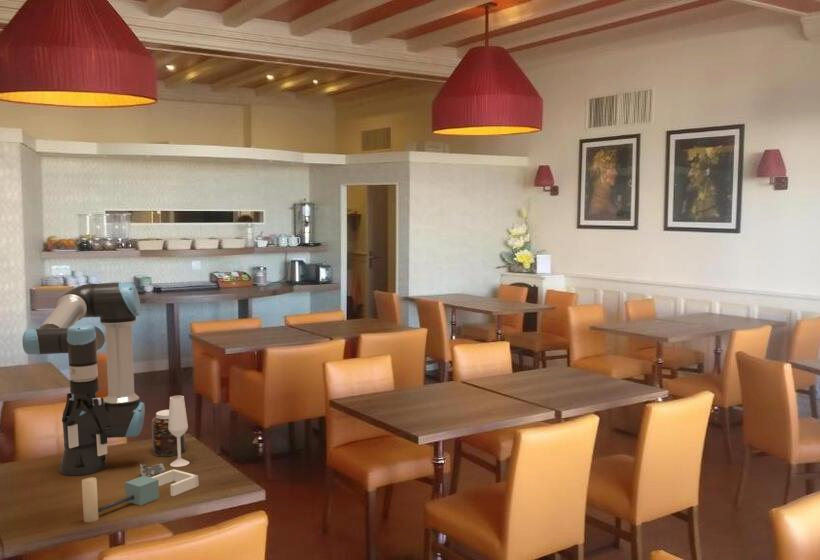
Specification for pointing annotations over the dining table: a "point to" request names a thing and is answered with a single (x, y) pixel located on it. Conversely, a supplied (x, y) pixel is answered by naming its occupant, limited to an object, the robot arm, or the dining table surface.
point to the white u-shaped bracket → (178, 481)
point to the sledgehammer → (136, 493)
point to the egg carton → (152, 470)
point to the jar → (164, 436)
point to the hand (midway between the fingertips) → (87, 450)
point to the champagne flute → (178, 425)
